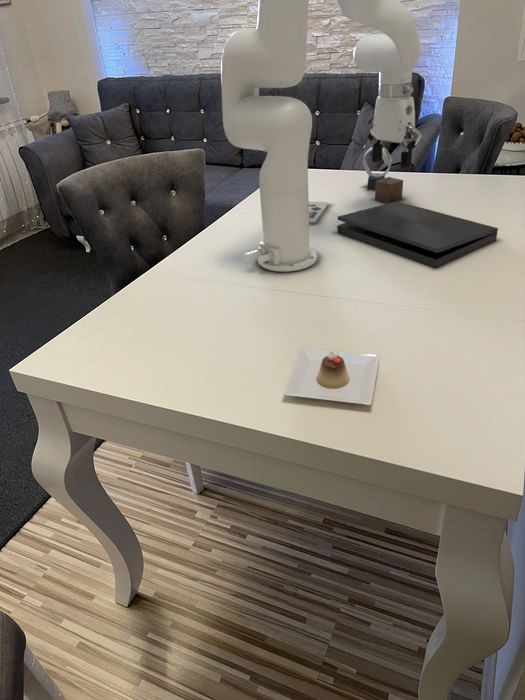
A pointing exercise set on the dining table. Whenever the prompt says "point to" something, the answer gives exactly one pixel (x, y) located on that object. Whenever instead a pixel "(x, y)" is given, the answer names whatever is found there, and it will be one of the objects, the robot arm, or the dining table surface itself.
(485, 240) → the laptop
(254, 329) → the dining table surface
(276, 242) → the robot arm
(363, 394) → the dessert
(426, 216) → the laptop screen
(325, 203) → the handheld gaming device
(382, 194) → the block
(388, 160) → the watch
